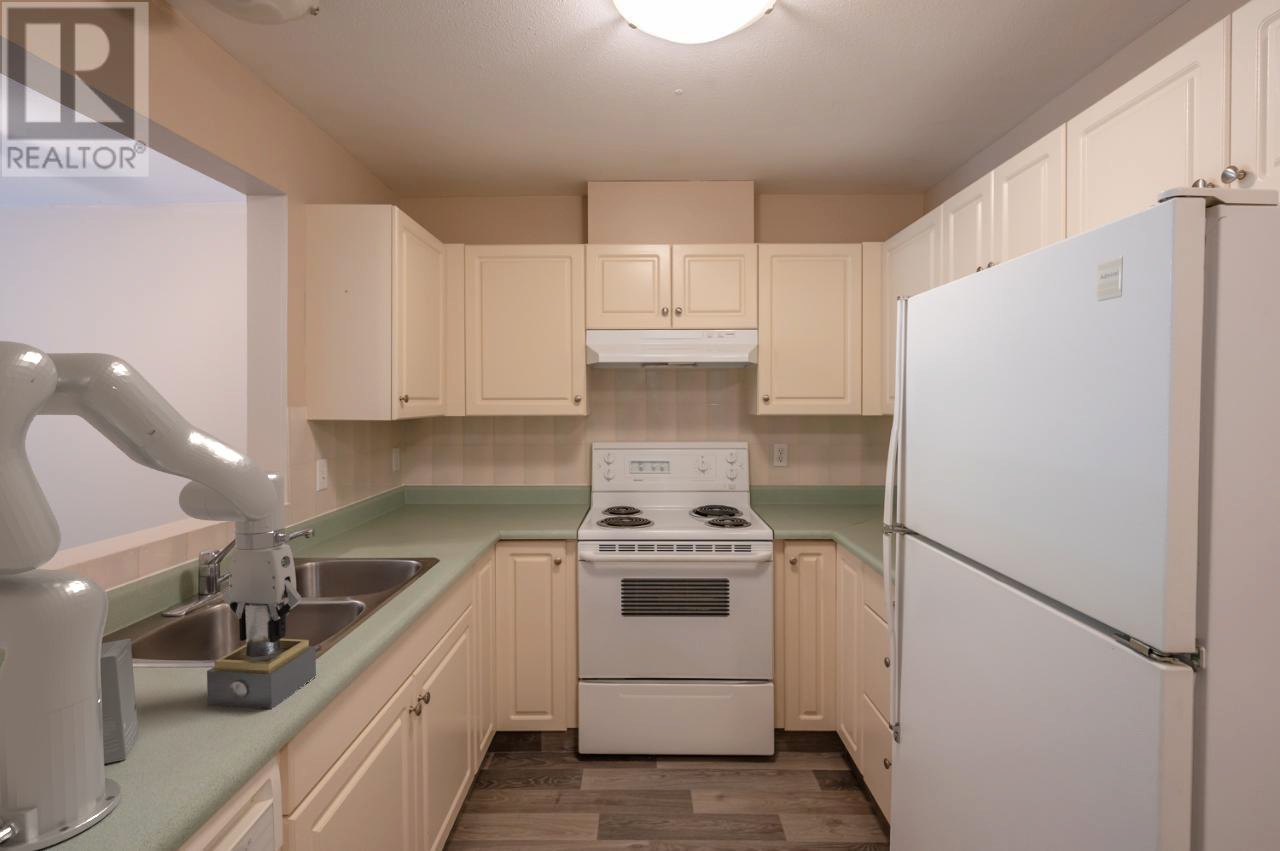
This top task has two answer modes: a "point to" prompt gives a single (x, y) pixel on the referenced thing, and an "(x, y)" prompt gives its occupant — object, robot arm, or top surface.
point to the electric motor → (259, 631)
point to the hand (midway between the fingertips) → (262, 637)
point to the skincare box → (118, 700)
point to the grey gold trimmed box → (261, 675)
